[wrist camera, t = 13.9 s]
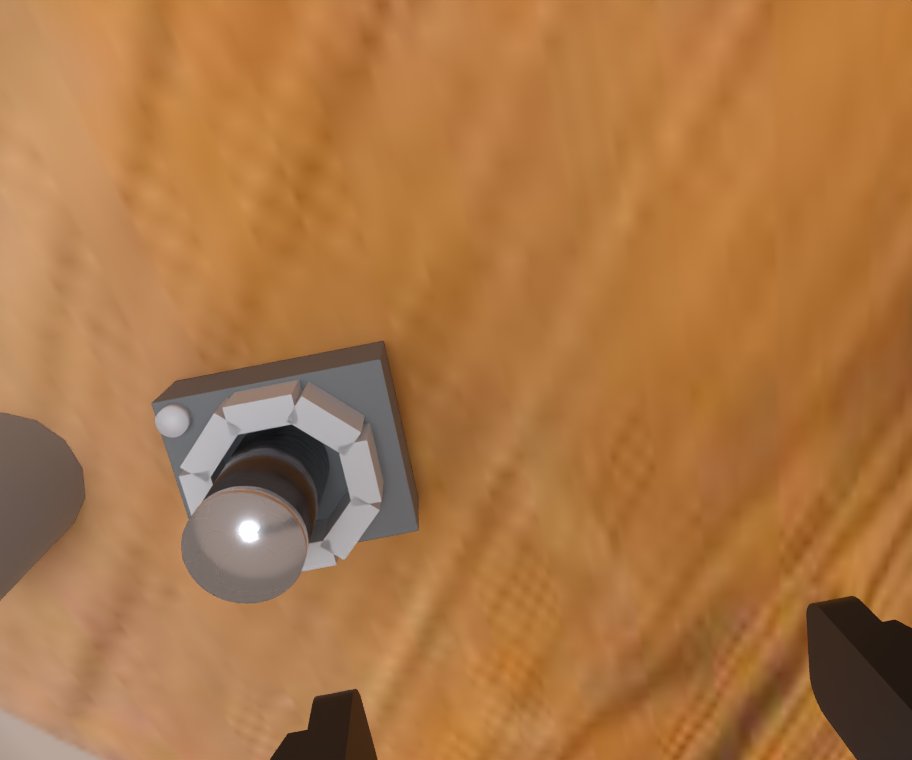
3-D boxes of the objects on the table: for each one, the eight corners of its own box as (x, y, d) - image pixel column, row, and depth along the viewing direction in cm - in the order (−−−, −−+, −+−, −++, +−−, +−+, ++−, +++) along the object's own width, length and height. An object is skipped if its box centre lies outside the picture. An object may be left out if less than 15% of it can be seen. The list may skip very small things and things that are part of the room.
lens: (253, 405, 38) (204, 476, 30) (344, 441, 39) (323, 520, 31) (220, 487, 40) (165, 579, 31) (310, 521, 40) (280, 619, 32)
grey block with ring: (383, 340, 42) (377, 372, 36) (418, 499, 45) (418, 553, 39) (175, 381, 42) (133, 419, 36) (223, 536, 45) (192, 596, 39)
